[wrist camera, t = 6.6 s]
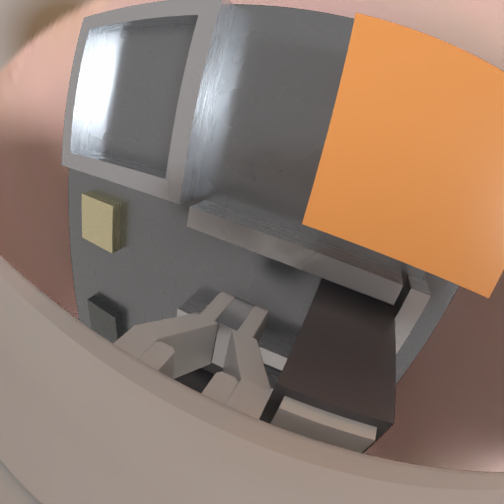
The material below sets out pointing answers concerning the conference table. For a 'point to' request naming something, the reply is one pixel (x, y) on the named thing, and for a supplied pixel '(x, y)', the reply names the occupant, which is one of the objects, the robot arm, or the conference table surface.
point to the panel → (215, 173)
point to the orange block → (416, 155)
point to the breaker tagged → (339, 372)
